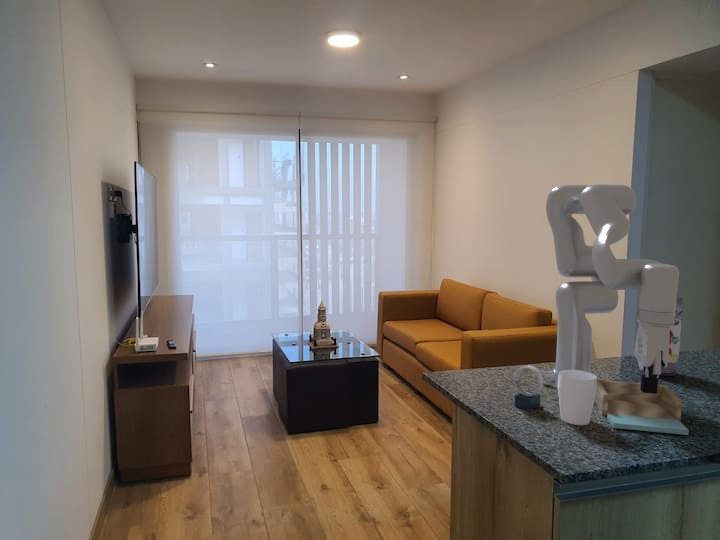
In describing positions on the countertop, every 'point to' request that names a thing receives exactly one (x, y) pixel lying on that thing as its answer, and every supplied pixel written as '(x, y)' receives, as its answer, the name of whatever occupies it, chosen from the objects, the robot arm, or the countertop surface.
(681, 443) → the countertop surface
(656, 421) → the panel
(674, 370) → the juice carton
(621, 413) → the crate
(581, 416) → the cup
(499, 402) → the countertop surface
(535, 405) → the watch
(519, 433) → the countertop surface
